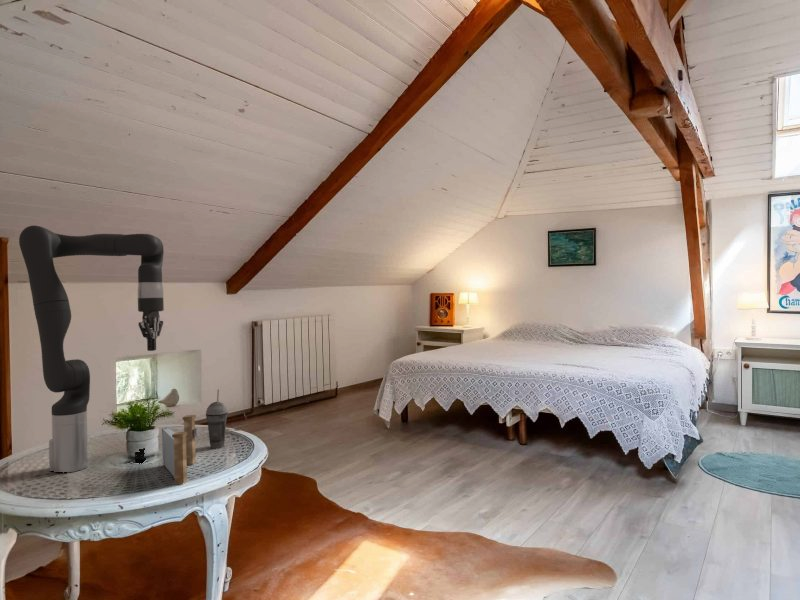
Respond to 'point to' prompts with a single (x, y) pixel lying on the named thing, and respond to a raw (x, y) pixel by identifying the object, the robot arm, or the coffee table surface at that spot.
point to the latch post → (190, 438)
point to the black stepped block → (139, 456)
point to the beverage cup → (216, 423)
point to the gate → (168, 449)
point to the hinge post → (180, 457)
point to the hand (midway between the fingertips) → (151, 350)
